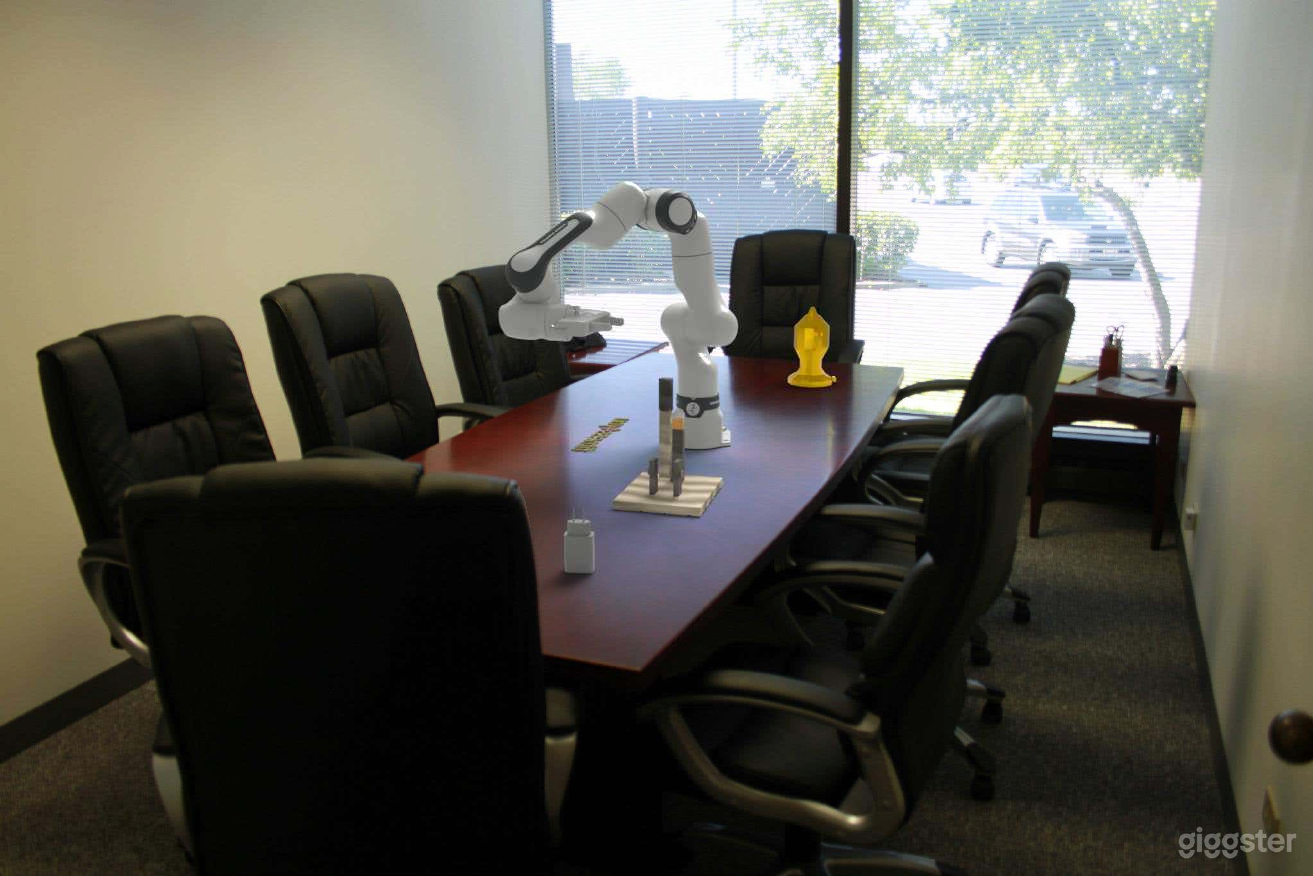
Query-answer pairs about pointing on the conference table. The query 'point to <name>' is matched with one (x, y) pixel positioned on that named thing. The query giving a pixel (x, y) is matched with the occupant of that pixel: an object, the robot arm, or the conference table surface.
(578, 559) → the power adapter
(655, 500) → the frame
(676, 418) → the pin
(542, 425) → the conference table surface
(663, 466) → the lever
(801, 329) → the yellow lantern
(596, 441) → the text sign
